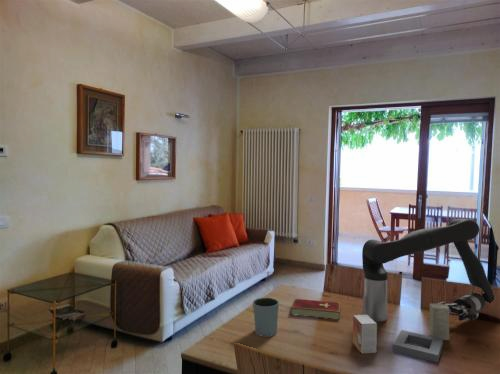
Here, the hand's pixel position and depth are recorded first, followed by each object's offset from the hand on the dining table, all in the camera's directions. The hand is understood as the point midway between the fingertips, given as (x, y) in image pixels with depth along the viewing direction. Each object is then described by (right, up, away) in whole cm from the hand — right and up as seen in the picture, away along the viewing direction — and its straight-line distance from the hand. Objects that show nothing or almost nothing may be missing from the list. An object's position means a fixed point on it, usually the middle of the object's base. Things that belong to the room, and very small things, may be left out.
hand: (448, 314), depth 141 cm
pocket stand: (-18, -7, -13) cm, 23 cm away
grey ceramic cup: (-71, -7, +1) cm, 71 cm away
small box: (-36, -8, -12) cm, 39 cm away
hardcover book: (-48, -7, +21) cm, 53 cm away
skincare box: (-6, -7, -4) cm, 10 cm away
